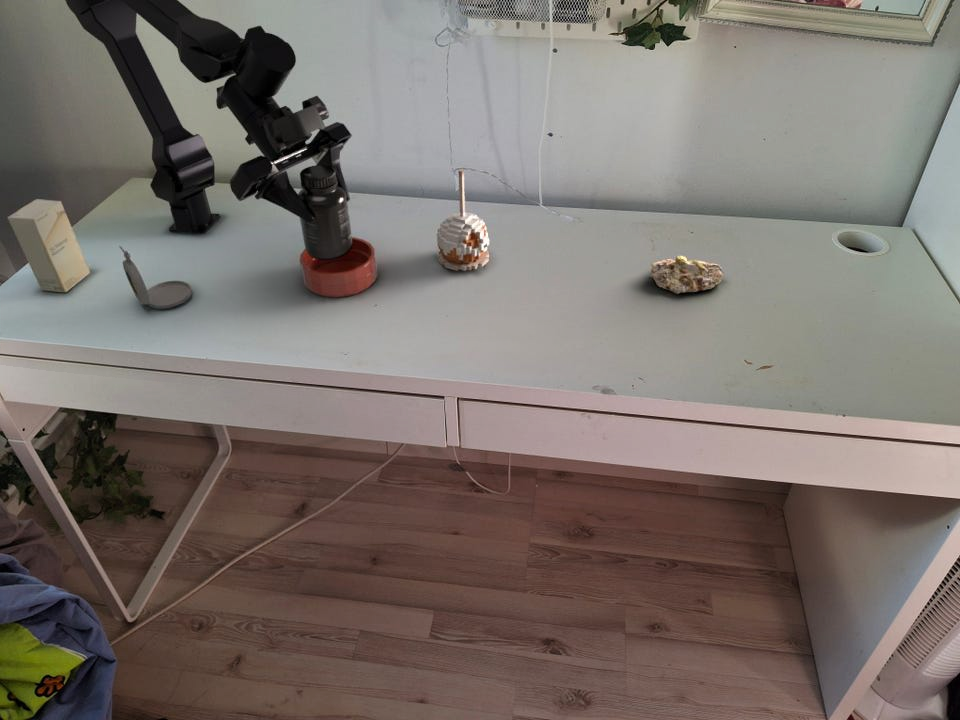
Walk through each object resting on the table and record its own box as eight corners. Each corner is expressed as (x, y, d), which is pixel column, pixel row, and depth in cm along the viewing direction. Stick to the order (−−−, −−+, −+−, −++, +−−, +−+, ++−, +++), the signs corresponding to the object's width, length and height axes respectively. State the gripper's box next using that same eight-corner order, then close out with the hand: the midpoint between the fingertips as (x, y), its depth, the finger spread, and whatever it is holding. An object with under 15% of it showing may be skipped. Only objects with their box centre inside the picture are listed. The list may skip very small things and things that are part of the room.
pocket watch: (202, 290, 107) (183, 230, 100) (165, 321, 100) (143, 259, 94) (157, 281, 109) (136, 222, 103) (118, 311, 103) (94, 250, 96)
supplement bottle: (340, 233, 108) (329, 157, 101) (361, 252, 104) (351, 174, 96) (298, 246, 105) (283, 169, 98) (318, 266, 101) (304, 187, 93)
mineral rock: (655, 283, 102) (651, 243, 107) (649, 302, 106) (646, 263, 110) (731, 287, 102) (724, 246, 106) (722, 307, 105) (716, 267, 110)
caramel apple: (473, 278, 108) (471, 186, 99) (429, 265, 111) (423, 175, 102) (497, 255, 114) (497, 165, 104) (455, 244, 117) (452, 155, 107)
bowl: (319, 257, 114) (315, 234, 111) (385, 263, 112) (383, 239, 110) (293, 295, 105) (288, 271, 103) (365, 301, 104) (362, 277, 101)
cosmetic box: (66, 294, 106) (33, 220, 99) (39, 291, 107) (5, 217, 100) (92, 272, 111) (62, 200, 104) (66, 269, 112) (35, 197, 104)
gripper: (224, 102, 86) (304, 210, 88) (333, 62, 97) (401, 158, 99) (198, 150, 94) (271, 248, 96) (301, 108, 106) (365, 196, 108)
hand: (330, 210), depth 100 cm, fingers closed on supplement bottle, 7 cm apart
